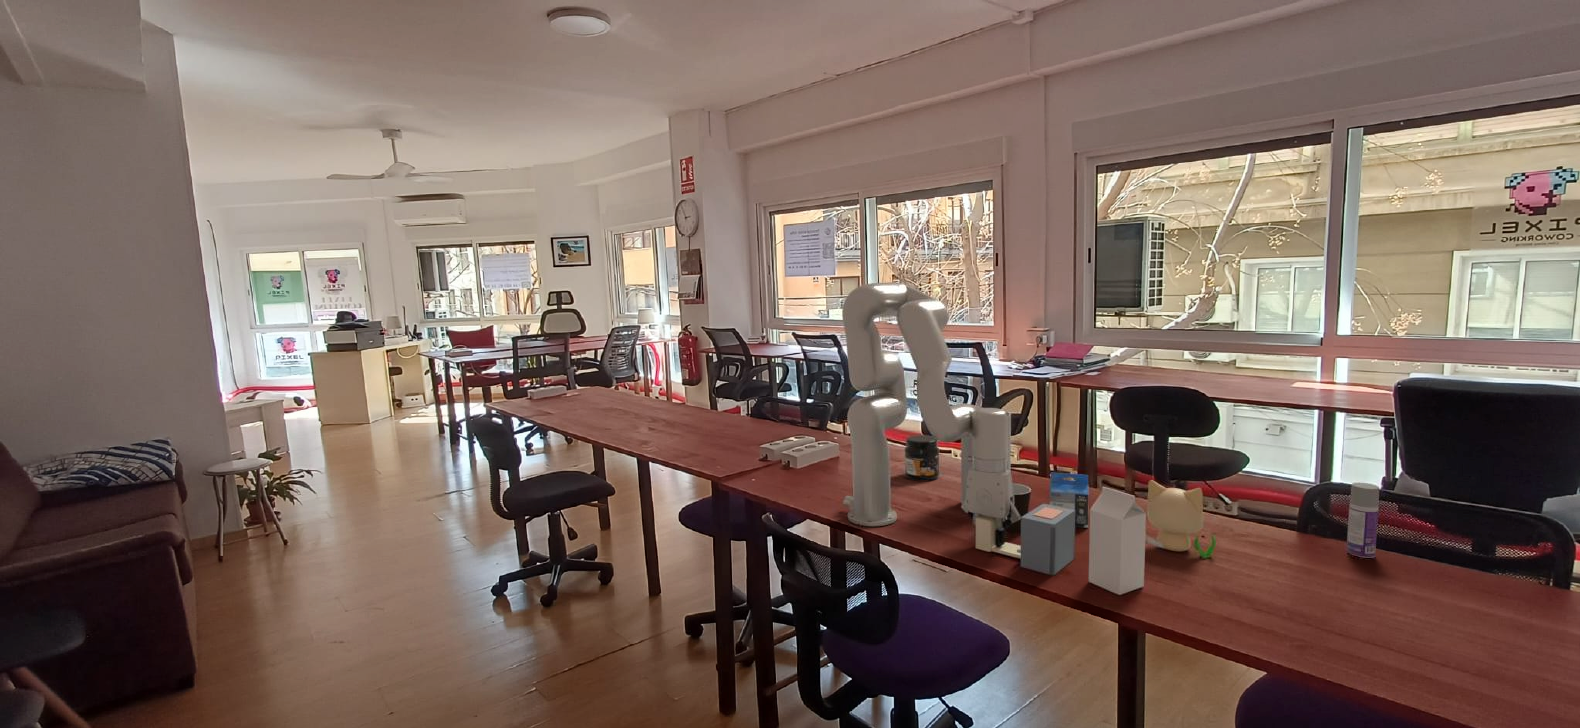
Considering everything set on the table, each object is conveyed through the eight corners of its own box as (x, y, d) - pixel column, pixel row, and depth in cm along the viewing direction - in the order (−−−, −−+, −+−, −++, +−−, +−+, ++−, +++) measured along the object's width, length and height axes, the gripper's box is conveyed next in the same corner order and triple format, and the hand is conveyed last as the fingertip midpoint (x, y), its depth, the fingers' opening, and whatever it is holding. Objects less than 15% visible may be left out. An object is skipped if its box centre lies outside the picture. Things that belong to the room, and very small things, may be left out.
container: (1370, 552, 148) (1375, 483, 146) (1378, 560, 144) (1383, 490, 142) (1343, 549, 150) (1348, 481, 148) (1350, 557, 146) (1354, 487, 144)
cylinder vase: (1015, 502, 187) (1016, 411, 184) (1002, 517, 177) (1003, 420, 173) (970, 496, 194) (969, 407, 191) (954, 509, 183) (954, 416, 180)
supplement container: (904, 481, 209) (904, 442, 208) (904, 471, 220) (904, 434, 218) (940, 482, 208) (940, 442, 206) (938, 472, 218) (938, 434, 216)
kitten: (1220, 550, 152) (1223, 483, 150) (1209, 565, 144) (1212, 495, 142) (1146, 534, 162) (1148, 472, 160) (1132, 548, 154) (1134, 482, 153)
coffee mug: (1033, 536, 163) (1033, 494, 162) (994, 534, 165) (994, 493, 164) (1026, 519, 175) (1026, 480, 173) (990, 517, 176) (990, 479, 175)
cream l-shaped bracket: (975, 548, 157) (975, 518, 156) (988, 540, 161) (988, 511, 160) (1051, 568, 145) (1051, 536, 144) (1062, 559, 149) (1063, 527, 148)
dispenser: (1015, 565, 148) (1015, 515, 146) (1037, 549, 156) (1038, 501, 154) (1053, 575, 142) (1054, 523, 141) (1074, 558, 150) (1075, 509, 149)
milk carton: (1119, 596, 132) (1122, 499, 130) (1088, 582, 139) (1090, 489, 136) (1144, 587, 136) (1147, 492, 133) (1112, 574, 142) (1114, 483, 139)
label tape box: (1049, 525, 170) (1049, 476, 168) (1049, 519, 174) (1050, 471, 172) (1088, 529, 167) (1089, 479, 165) (1087, 523, 170) (1088, 474, 169)
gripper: (947, 462, 158) (948, 539, 160) (1018, 474, 147) (1018, 557, 149) (964, 455, 163) (965, 530, 166) (1033, 466, 152) (1033, 546, 154)
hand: (990, 542), depth 157 cm, fingers closed on cream l-shaped bracket, 4 cm apart
